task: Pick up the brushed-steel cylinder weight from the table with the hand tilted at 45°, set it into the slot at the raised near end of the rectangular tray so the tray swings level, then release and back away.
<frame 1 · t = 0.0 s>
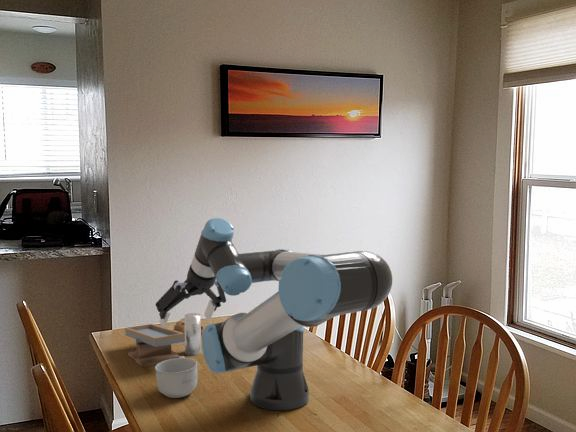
hand: (184, 321, 170), 15 cm above the table, tool tilted 35°, fingers open, 13 cm apart
rectangular tray: (153, 335, 184), point 7 cm above the table, hinge at 8.0°
bread roll: (187, 336, 207), on the table
fulcrum: (153, 357, 185), on the table
teacup: (178, 392, 159), on the table
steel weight: (192, 352, 190), on the table
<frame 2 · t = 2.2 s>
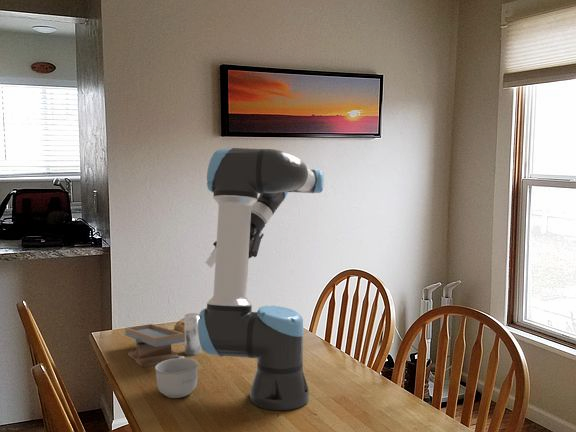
hand: (220, 268, 194), 26 cm above the table, tool tilted 45°, fingers open, 13 cm apart
nothing on the table moved.
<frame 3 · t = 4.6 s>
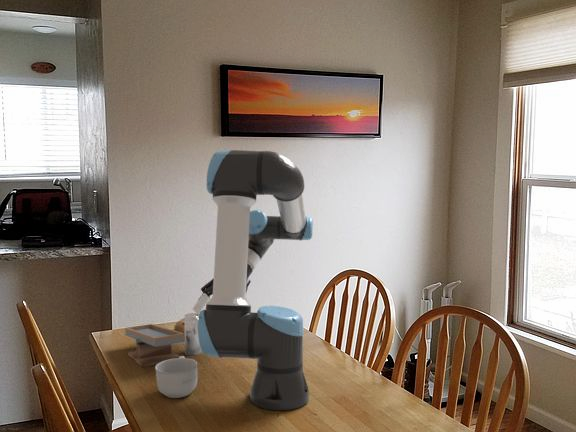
hand: (207, 315, 193), 11 cm above the table, tool tilted 45°, fingers open, 13 cm apart
nothing on the table moved.
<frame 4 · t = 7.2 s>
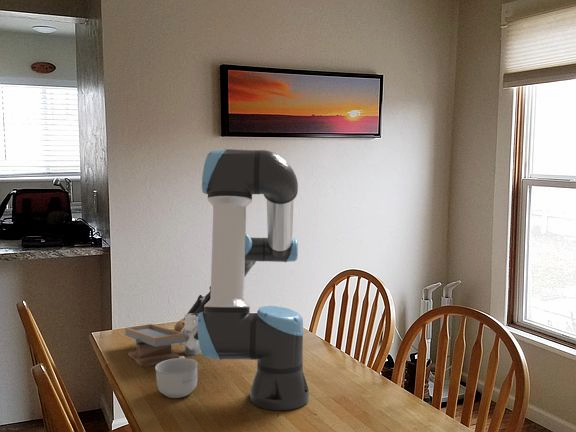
hand: (182, 344, 187), 3 cm above the table, tool tilted 45°, fingers closed on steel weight, 5 cm apart
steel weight: (192, 352, 190), on the table, touching gripper
everything else where it was.
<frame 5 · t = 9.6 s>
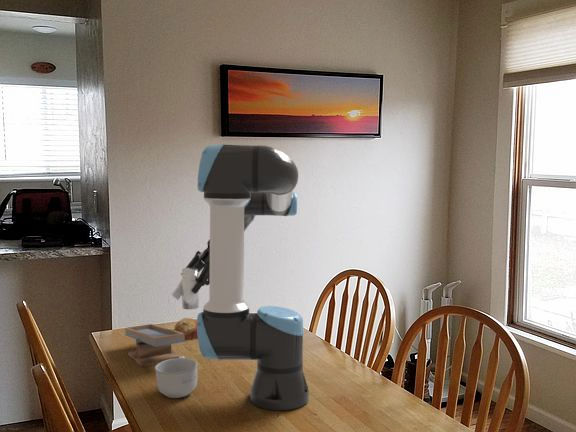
hand: (180, 298, 184), 18 cm above the table, tool tilted 45°, fingers closed on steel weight, 5 cm apart
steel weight: (190, 307, 187), point 15 cm above the table, touching gripper
everything else where it was.
when the fingers open (13 cm above the table, at t = 11.9 s): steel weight drops 2 cm, resting on rectangular tray.
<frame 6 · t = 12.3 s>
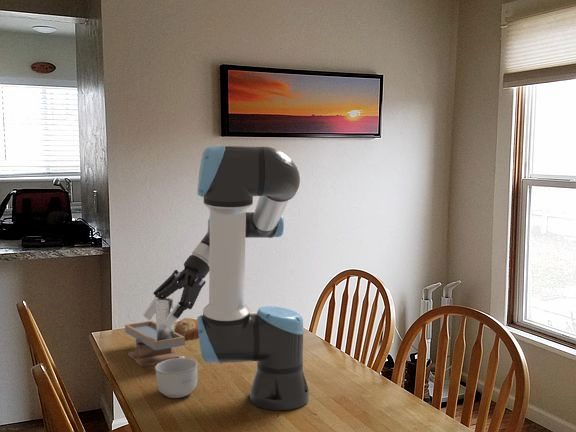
hand: (156, 321, 174), 14 cm above the table, tool tilted 45°, fingers open, 10 cm apart
rectangular tray: (153, 335, 184), point 7 cm above the table, hinge at 3.5°, touching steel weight
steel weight: (165, 340, 176), point 8 cm above the table, touching rectangular tray
everything else where it was.
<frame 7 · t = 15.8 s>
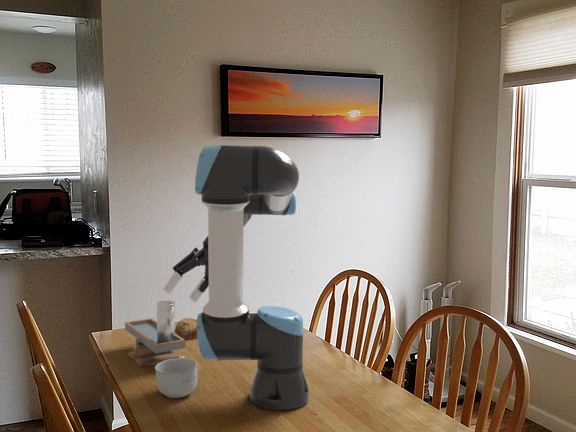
hand: (178, 295, 179), 20 cm above the table, tool tilted 45°, fingers open, 13 cm apart
rectangular tray: (153, 335, 184), point 7 cm above the table, hinge at -0.4°, touching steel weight
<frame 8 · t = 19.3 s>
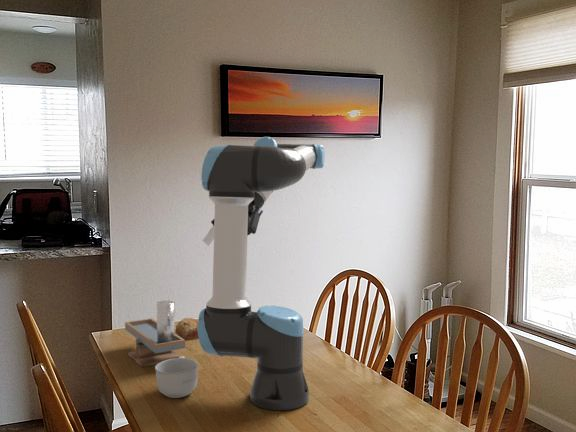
hand: (218, 245, 188), 34 cm above the table, tool tilted 45°, fingers open, 13 cm apart
nothing on the table moved.
at the end: rectangular tray at +0° (first picture: +8°); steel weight inside the target area (0.9 cm from its centre), point 7.1 cm above the table; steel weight tilted 0° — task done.
